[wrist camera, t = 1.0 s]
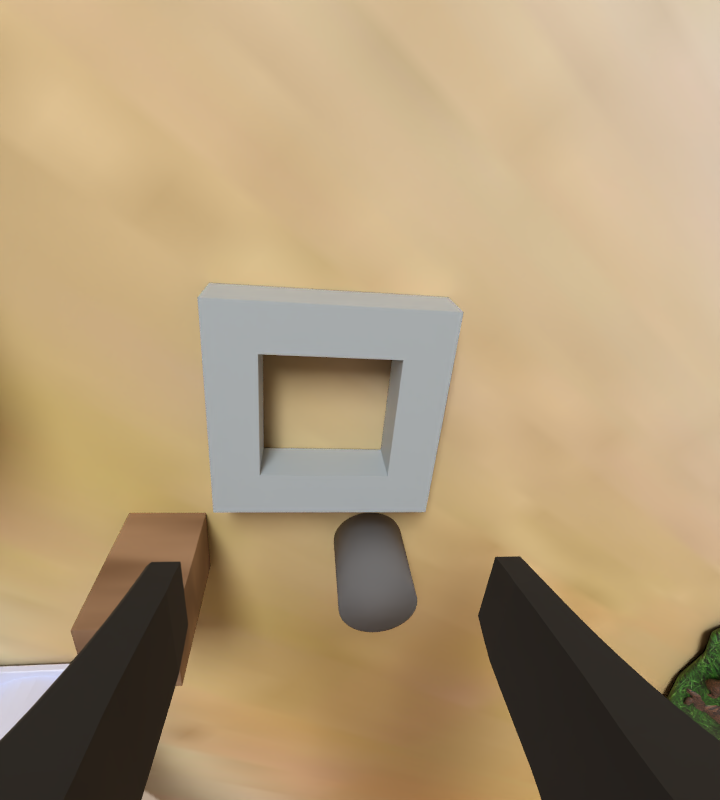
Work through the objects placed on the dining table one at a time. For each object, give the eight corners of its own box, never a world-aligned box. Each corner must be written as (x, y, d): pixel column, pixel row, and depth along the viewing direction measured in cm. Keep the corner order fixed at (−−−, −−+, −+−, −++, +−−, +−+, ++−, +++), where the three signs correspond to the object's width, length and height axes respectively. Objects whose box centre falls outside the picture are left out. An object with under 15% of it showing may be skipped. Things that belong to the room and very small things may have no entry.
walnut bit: (210, 565, 23) (181, 685, 18) (138, 566, 23) (88, 690, 18) (205, 512, 22) (173, 626, 16) (129, 513, 21) (70, 630, 16)
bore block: (415, 483, 22) (425, 511, 20) (221, 482, 21) (213, 512, 19) (448, 297, 18) (463, 312, 16) (209, 282, 17) (197, 297, 15)
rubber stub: (396, 562, 24) (411, 630, 21) (332, 563, 24) (336, 633, 20) (404, 512, 23) (422, 576, 19) (336, 512, 22) (341, 578, 19)
